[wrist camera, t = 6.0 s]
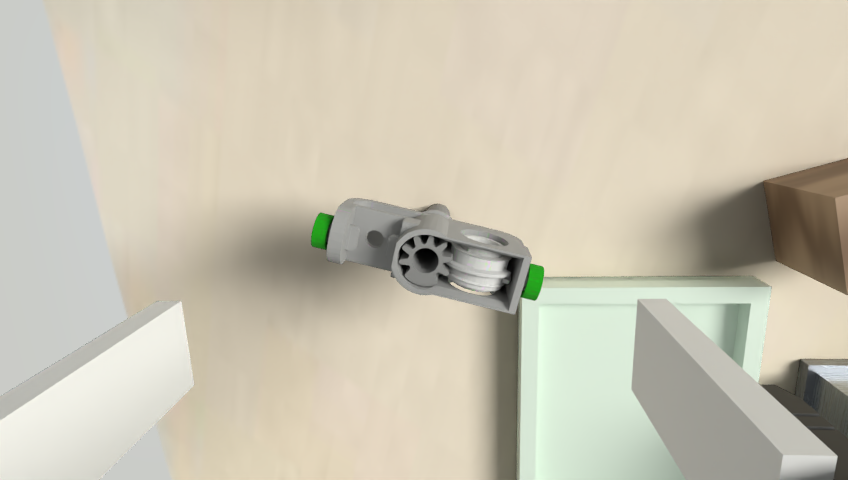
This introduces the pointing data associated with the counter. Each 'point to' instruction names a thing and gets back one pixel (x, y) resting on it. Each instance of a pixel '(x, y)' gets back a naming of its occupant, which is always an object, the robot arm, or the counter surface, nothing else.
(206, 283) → the counter surface
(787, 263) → the walnut block
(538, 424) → the tray
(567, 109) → the counter surface
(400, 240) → the mechanical component
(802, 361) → the unit
